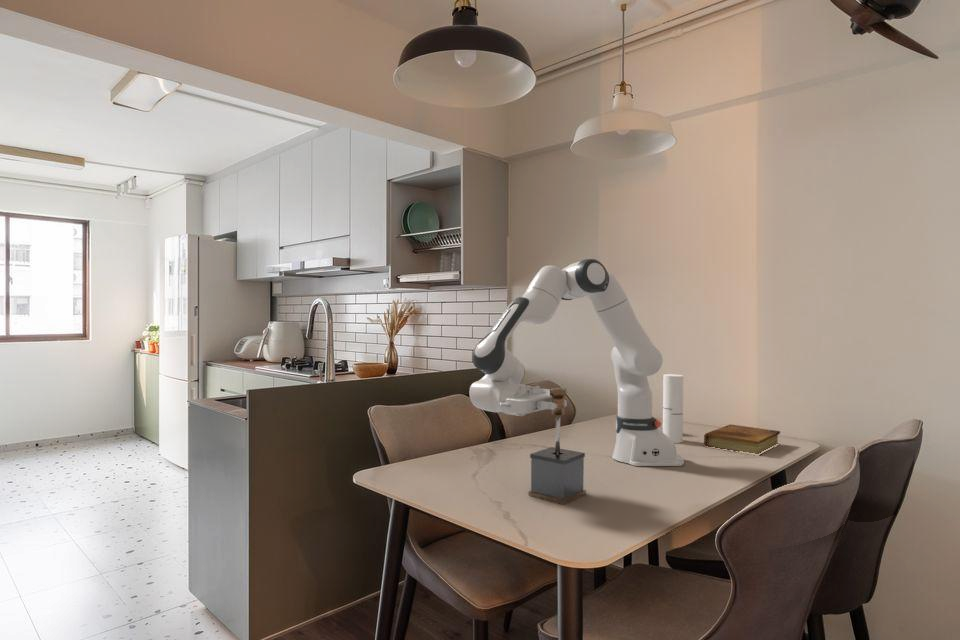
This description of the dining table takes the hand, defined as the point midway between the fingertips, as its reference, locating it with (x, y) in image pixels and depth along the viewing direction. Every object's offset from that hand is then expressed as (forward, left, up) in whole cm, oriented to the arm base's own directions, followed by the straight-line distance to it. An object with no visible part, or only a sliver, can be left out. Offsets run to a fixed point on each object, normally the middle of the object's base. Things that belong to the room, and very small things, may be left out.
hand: (560, 405), depth 150 cm
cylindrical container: (-40, -72, -24) cm, 86 cm away
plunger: (+1, 0, -15) cm, 15 cm away
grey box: (+1, 0, -24) cm, 24 cm away
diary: (-64, -69, -25) cm, 98 cm away
